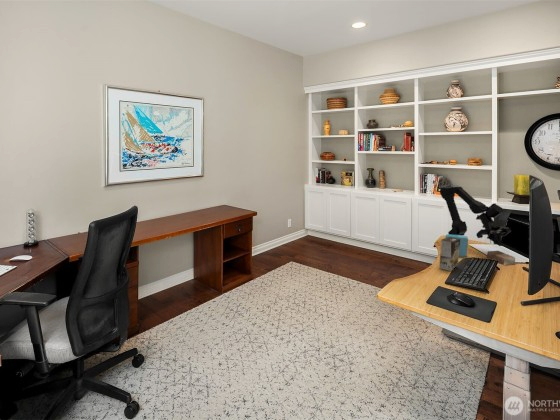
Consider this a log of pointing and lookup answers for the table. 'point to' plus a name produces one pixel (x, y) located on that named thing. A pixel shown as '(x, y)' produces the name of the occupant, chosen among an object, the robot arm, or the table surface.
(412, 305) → the table surface
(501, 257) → the walnut block
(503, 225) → the robot arm
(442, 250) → the coffee box
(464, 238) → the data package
